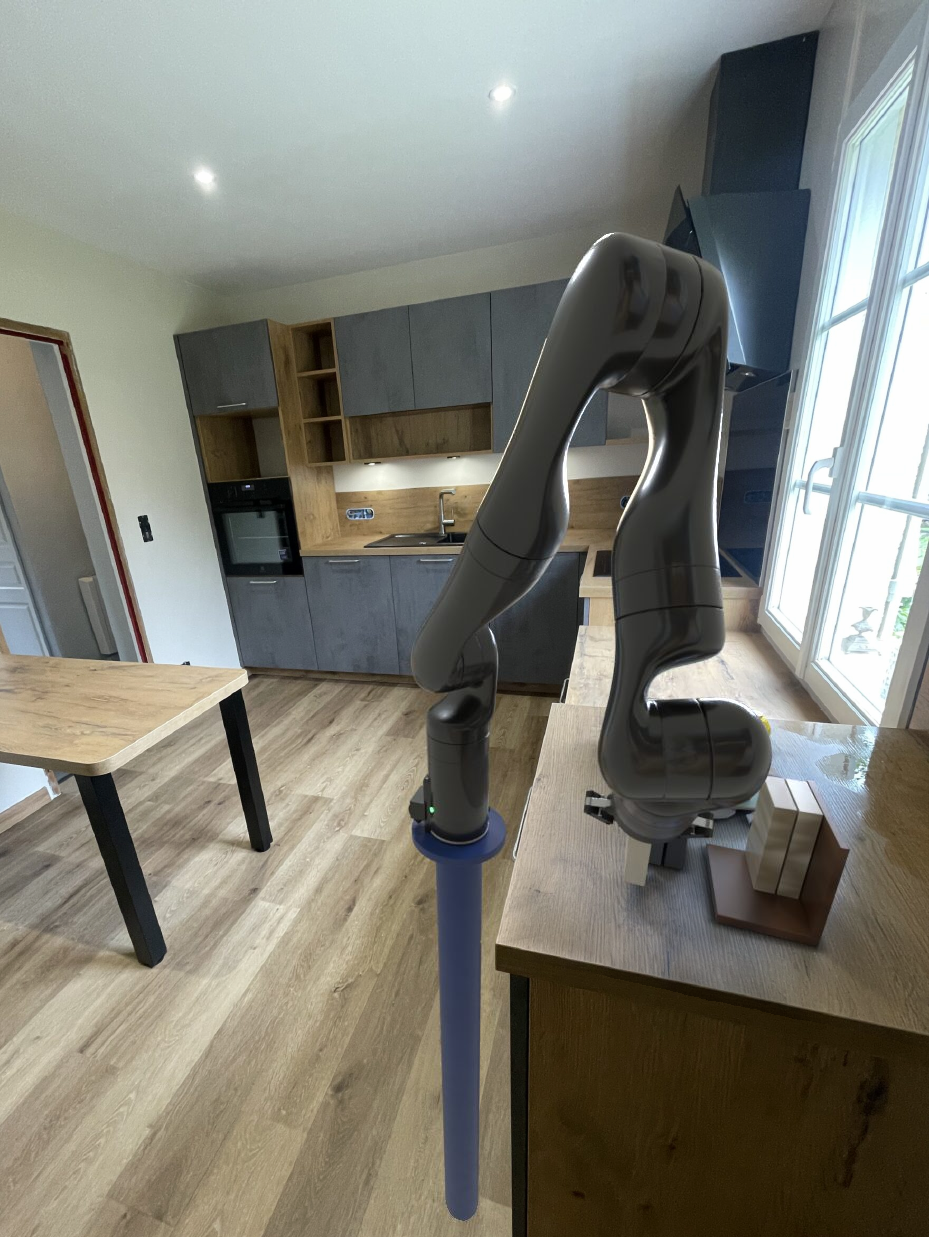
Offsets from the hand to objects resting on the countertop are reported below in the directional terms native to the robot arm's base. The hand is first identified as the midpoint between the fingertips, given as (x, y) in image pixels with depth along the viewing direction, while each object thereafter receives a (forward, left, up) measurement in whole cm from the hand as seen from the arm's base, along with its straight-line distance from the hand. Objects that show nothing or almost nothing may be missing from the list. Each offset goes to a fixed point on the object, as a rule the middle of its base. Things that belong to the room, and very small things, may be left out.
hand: (639, 826), depth 66 cm
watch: (+20, +44, -8) cm, 49 cm away
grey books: (+4, +7, -8) cm, 11 cm away
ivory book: (0, -1, -5) cm, 5 cm away
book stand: (+14, +2, -8) cm, 16 cm away
